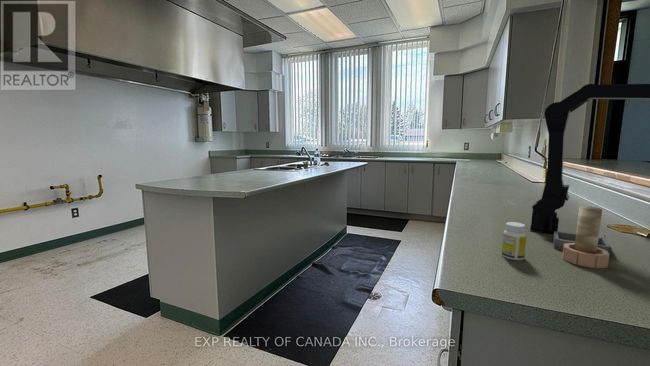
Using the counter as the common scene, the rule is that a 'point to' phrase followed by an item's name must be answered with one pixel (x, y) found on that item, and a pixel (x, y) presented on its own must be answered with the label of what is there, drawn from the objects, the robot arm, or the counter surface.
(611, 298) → the counter surface
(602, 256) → the pink faceted bowl
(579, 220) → the dowel
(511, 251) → the supplement bottle
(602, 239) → the tray
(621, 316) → the counter surface
